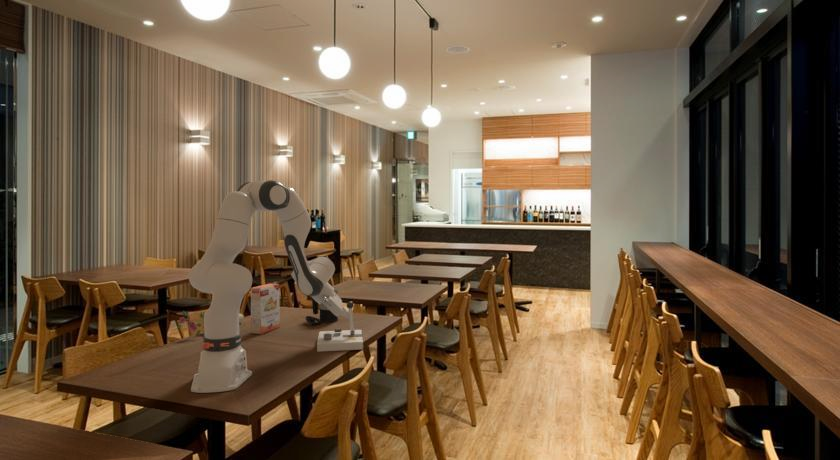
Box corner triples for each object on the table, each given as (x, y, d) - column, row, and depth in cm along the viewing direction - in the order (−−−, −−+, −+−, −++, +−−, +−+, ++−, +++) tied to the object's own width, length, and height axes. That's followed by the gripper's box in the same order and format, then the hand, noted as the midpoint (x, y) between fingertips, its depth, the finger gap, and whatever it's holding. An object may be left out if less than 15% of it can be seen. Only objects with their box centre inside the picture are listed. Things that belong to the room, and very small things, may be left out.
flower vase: (242, 339, 252) (189, 342, 219) (223, 330, 256) (169, 331, 224) (251, 316, 253) (199, 316, 220) (232, 307, 257) (179, 305, 224)
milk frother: (340, 318, 262) (340, 289, 261) (331, 326, 246) (331, 295, 245) (313, 318, 263) (312, 289, 263) (302, 325, 248) (302, 294, 247)
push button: (331, 339, 210) (331, 335, 210) (323, 339, 210) (323, 335, 209) (331, 337, 213) (331, 333, 213) (323, 337, 213) (323, 333, 213)
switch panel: (363, 349, 208) (362, 341, 207) (317, 351, 205) (316, 343, 205) (361, 336, 227) (361, 329, 227) (319, 338, 225) (319, 331, 225)
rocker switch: (341, 332, 218) (341, 328, 218) (334, 332, 217) (334, 329, 218) (341, 331, 222) (341, 328, 222) (334, 331, 222) (334, 328, 222)
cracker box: (261, 335, 232) (260, 288, 230) (250, 333, 234) (249, 287, 232) (280, 327, 245) (279, 283, 243) (270, 326, 247) (269, 282, 246)
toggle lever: (349, 335, 215) (346, 302, 214) (348, 333, 218) (346, 301, 217) (356, 334, 215) (353, 301, 214) (356, 333, 218) (353, 300, 217)
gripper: (329, 293, 205) (354, 316, 207) (329, 283, 225) (352, 305, 227) (317, 304, 204) (342, 328, 207) (319, 294, 224) (342, 316, 227)
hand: (347, 316), depth 217 cm, fingers closed
